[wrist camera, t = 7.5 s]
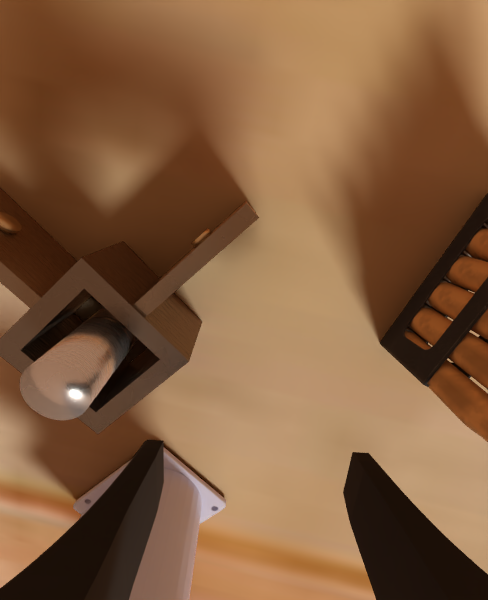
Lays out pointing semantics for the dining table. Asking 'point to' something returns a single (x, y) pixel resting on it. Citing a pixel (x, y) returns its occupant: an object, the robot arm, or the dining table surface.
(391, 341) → the ammunition clip
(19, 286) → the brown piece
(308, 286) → the dining table surface
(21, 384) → the pin
